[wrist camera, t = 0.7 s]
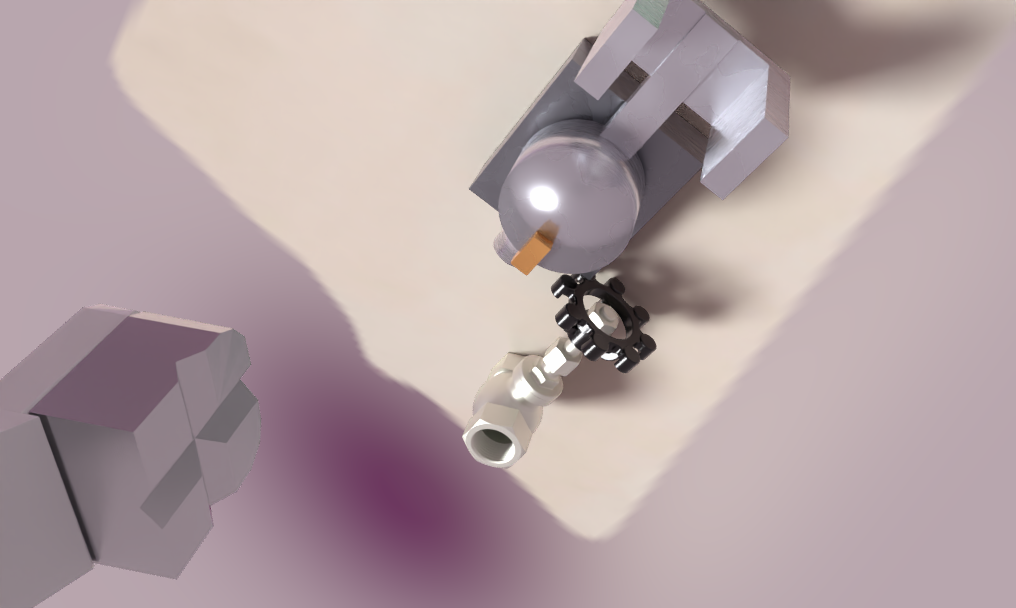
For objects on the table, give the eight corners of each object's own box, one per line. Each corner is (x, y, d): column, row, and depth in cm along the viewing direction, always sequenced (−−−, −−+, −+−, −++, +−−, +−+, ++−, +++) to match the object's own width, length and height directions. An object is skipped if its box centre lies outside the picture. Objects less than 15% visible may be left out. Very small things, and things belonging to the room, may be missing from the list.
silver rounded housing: (655, -39, 39) (632, 8, 34) (790, 74, 40) (788, 137, 35) (479, 182, 47) (438, 248, 42) (595, 270, 48) (569, 345, 43)
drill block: (584, 38, 45) (571, 58, 43) (709, 139, 46) (704, 165, 44) (460, 194, 52) (444, 220, 49) (572, 279, 53) (561, 308, 51)
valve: (543, 422, 60) (664, 313, 53) (518, 495, 55) (648, 385, 48) (461, 363, 59) (573, 244, 52) (428, 431, 54) (548, 310, 47)
